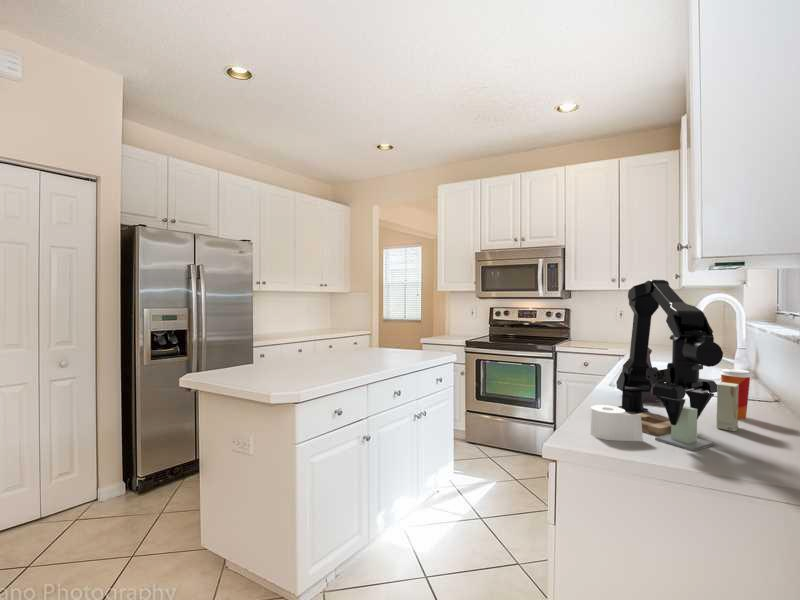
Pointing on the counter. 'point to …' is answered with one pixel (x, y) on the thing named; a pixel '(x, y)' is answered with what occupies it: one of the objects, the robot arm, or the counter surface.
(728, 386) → the skincare box
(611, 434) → the toilet paper
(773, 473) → the counter surface
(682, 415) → the green block
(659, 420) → the pocket block
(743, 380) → the paper cup
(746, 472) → the counter surface
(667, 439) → the coaster
